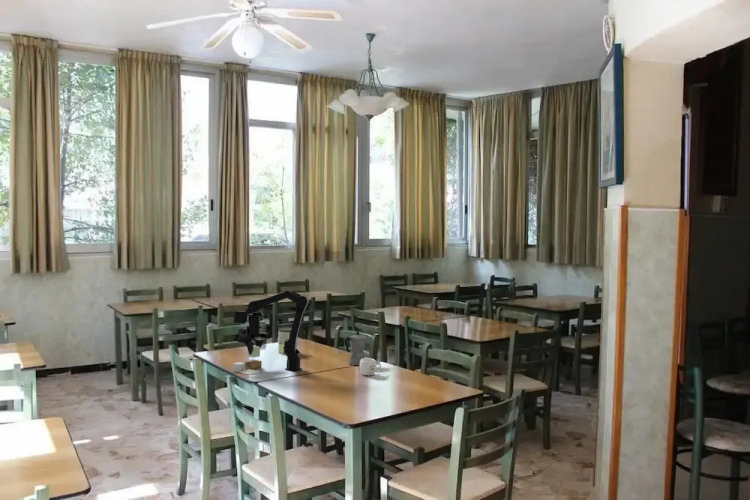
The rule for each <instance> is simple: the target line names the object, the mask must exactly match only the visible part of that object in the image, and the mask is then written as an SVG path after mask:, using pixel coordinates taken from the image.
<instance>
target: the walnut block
mask: <svg viewBox="0 0 750 500" xmlns="http://www.w3.org/2000/svg"><path fill="white" fill-rule="evenodd" d="M244 363H245V370H249V369H250V370H255V371H257V370H260V369H262V363H263V362H262V360H259V359H249V360H246V361H244ZM256 369H257V370H256Z"/></svg>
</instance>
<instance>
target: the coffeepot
mask: <svg viewBox="0 0 750 500" xmlns="http://www.w3.org/2000/svg"><path fill="white" fill-rule="evenodd" d="M355 333H356V334H354V335H349V336H346V337H345V339H344V341H343V342H344V345H345V349H346V352H347V353H350V354H349V357H348V358H349V359H348V364H349V365H350V364H351V365H350V366H353V365H360V360H361V359H364V358H365V352H364V350H365V346H366V340H367V338H368V336H367V335H361V334H360V331H355ZM348 341H349V342H348ZM348 343H349V344H348ZM349 347H350V349H349Z"/></svg>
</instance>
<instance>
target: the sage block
mask: <svg viewBox="0 0 750 500" xmlns="http://www.w3.org/2000/svg"><path fill="white" fill-rule="evenodd" d="M247 357H248V358H258V357H261V348H260V347H259V346H256V345H254V346H253V351H252V355H250V354H249V352H248V351H247Z"/></svg>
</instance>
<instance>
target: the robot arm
mask: <svg viewBox="0 0 750 500" xmlns="http://www.w3.org/2000/svg"><path fill="white" fill-rule="evenodd" d="M285 299H288V300H290V301H291V302H292V303H295V315H294V319H293V322H292V327H291V328H292V329H291V333H290V337H289V339H286V340H285V344H284V347H283V349H284V353H285V354H284V355H285V356H286V368H285V369H284V370H286V371H290V372H297V371H300V370H302V369H303V368H302V367H301V357H300V355H301V352H300V351H299V349H298V348H297V344H298V340H297V339H298V334H299V331H300V327H301V323H302V321H303V315H304V312H305V310H306V309H307V306H308V304H309V302H310V298H309V297H308V295H305V294H300V293H298V292H295V291H292V290H290V289H286V290H284V291H281V292H278V293H277V294H273V295H271V296H268V297H264V298H258V299H253V300H251V301H249V303H248V304H247V309H246V310H235V311H234V317H233V324H235V325H246V323H248V325H247V326H246V328H245V329H244V328H238V330H237V335H238V337H237V343H241V344H244V345H245V346H246V348H247V349H246V350H247V353H248V352H249V354H250V355H252V351H253V346H259V347H260V349H261V348H262V346H263V344H264V343H265V342H266V340H268V339H271V335H270V332H265V331H264V332H263V331H261V329H262V326H261V318H260V317H264V316H265V314H264V313H263V312H262V311H259V310H261V309H263V308H264V307H266V306H269V305H271V304H274V303H277V302H279V301H282V300H285ZM260 331H261V332H260Z"/></svg>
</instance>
